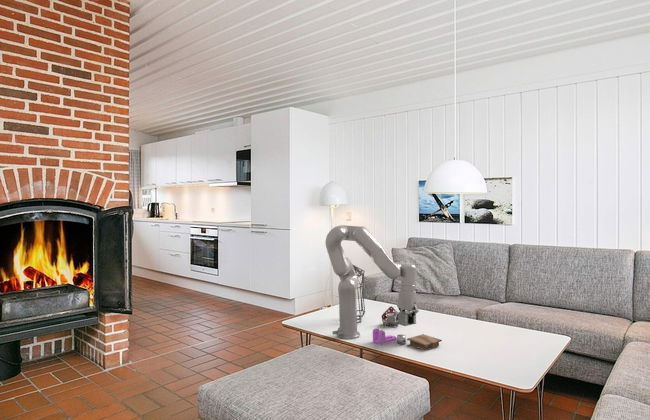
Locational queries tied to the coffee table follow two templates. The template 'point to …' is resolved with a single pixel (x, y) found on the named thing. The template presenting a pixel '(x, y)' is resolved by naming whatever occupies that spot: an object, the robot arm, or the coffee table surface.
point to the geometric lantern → (360, 292)
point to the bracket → (382, 337)
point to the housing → (405, 318)
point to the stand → (424, 341)
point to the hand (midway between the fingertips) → (407, 321)
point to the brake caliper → (390, 317)
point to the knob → (401, 339)
